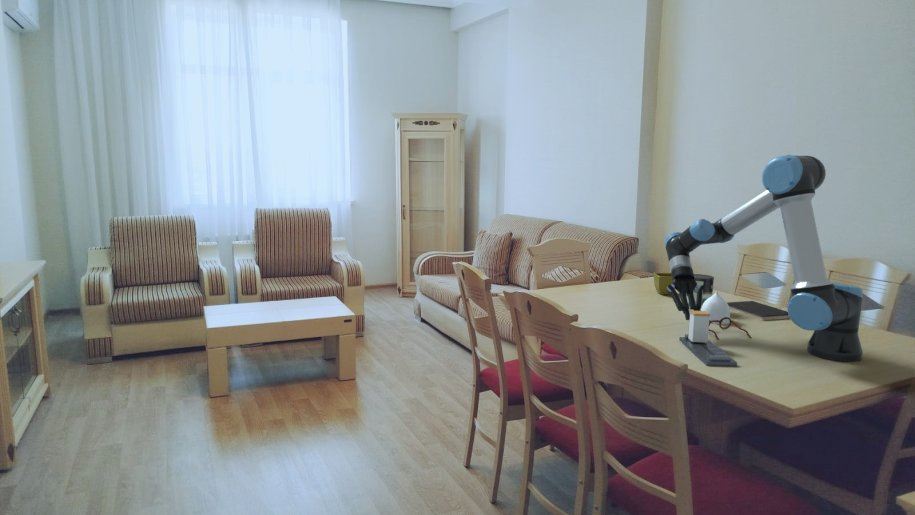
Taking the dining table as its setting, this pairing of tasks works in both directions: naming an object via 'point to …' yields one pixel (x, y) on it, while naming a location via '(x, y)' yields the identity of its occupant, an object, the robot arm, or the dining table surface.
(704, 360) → the board
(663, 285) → the flower pot
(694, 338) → the fader knob
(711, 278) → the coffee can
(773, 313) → the hardcover book
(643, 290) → the dining table surface
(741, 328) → the glasses
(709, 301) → the teardrop
